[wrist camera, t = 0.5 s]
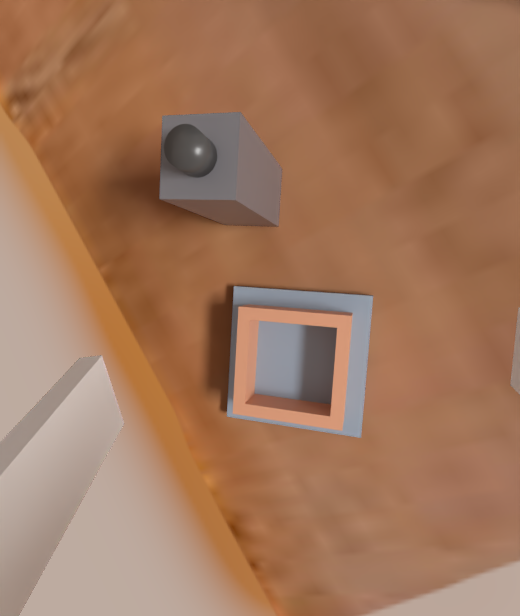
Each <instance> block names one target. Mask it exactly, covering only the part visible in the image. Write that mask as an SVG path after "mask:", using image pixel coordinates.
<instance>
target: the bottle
mask: <svg viewBox="0 0 520 616" xmlns="http://www.w3.org/2000/svg"><path fill="white" fill-rule="evenodd" d="M281 179H282V168H281V166H280V165H279V164H278V162H277V161H276V160H275V158H274V157H273V156H272V154H271V153H270V152H269V150H268V149H267V147H266V146H265V145H264V143H263V142H262V141H261V139H260V138H259V137H258V135H257V134H256V133H255V131H254V130H253V128H252V127H251V126H250V124H249V123H248V122H247V120H246V119H245V118H244V116H243V115H242V114H241V112H233V113H211V114H190V115H168V116H162V142H161V169H160V196H159V199H160V200H163V201H165V202H168V203H170V204H173V205H176V206H178V207H181V208H183V209H186V210H188V211H191V212H193V213H196V214H198V215H201V216H203V217H206V218H209V219H211V220H214V221H216V222H219V223H221V224H224V225H241V226H275V227H278V226H279V211H280V195H281Z"/></svg>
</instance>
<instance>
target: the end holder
mask: <svg viewBox="0 0 520 616" xmlns="http://www.w3.org/2000/svg"><path fill="white" fill-rule="evenodd" d="M372 302H373V296H372V295H358V294H343V293H329V292H315V291H300V290H286V289H272V288H257V287H243V286H234V293H233V312H232V330H231V349H230V367H229V386H228V404H227V417H233V418H240V419H246V420H252V421H259V422H265V423H271V424H277V425H284V426H290V427H296V428H303V429H309V430H315V431H322V432H328V433H334V434H340V435H347V436H353V437H359V438H361V431H362V419H363V408H364V396H365V384H366V373H367V361H368V349H369V338H370V326H371V314H372Z"/></svg>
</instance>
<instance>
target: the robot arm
mask: <svg viewBox="0 0 520 616" xmlns="http://www.w3.org/2000/svg"><path fill="white" fill-rule="evenodd" d="M510 385H511V386H512V387H513V388H514V389H515V390H516V391H517V392H518V393H519V394H520V307H519V308H518V317H517V327H516V337H515V346H514V356H513V365H512V375H511V384H510ZM123 425H124V421H123V418H122V416H121V412H120V409H119V406H118V403H117V400H116V397H115V394H114V391H113V388H112V385H111V382H110V378H109V375H108V372H107V369H106V366H105V363H104V360H103V357H102V356H101V355H100V356H92V357H83V358H79V359H78V360H77V361H76V362H75V363H74V365H73V366H72V367H71V368H70V369H69V370H68V371H67V372H66V373H65V374H64V375H63V376H62V378H60V379H59V381H58V382H57V383H56V384H55V385H54V386H53V387H52V388H51V389H50V390H49V391H48V392H47V393H46V394H45V395H44V396H43V397H42V399H41V400H40V401H39V402H38V403H37V404H36V405H35V406H34V407H33V408H32V409H31V410H30V411H29V412H28V413H27V415H26V416H25V417H24V418H23V419H22V420H21V421H20V422H19V423H18V424H17V425H16V426H15V427H14V428H13V429H12V430H11V431H10V433H9V434H8V435H7V436H6V437H5V438H4V439H3V440H2V441H1V442H0V616H19V615H20V613H21V611H22V609H23V607H24V606H25V604H26V602H27V600H28V598H29V597H30V595H31V593H32V591H33V589H34V587H35V586H36V584H37V582H38V580H39V578H40V576H41V575H42V573H43V571H44V569H45V567H46V566H47V564H48V562H49V560H50V558H51V556H52V554H53V552H54V551H55V549H56V547H57V545H58V544H59V542H60V540H61V538H62V536H63V535H64V533H65V531H66V529H67V527H68V525H69V524H70V522H71V520H72V518H73V516H74V515H75V513H76V511H77V509H78V507H79V505H80V504H81V502H82V500H83V498H84V496H85V494H86V493H87V491H88V489H89V487H90V485H91V484H92V482H93V480H94V478H95V476H96V474H97V473H98V470H99V469H100V467H101V465H102V463H103V462H104V460H105V458H106V456H107V454H108V452H109V451H110V449H111V447H112V445H113V443H114V442H115V440H116V438H117V436H118V434H119V432H120V431H121V429H122V427H123Z"/></svg>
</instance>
